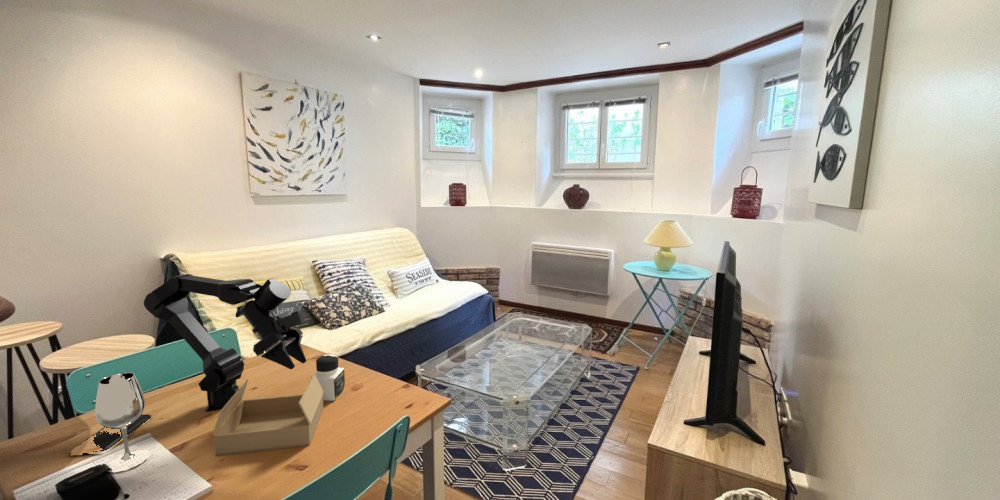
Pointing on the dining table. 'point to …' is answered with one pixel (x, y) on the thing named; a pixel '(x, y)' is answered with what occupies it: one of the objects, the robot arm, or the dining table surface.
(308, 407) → the flap far
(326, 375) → the medicine bottle
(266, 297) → the robot arm
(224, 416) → the flap near
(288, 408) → the carton
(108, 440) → the phone
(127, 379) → the wineglass
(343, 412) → the dining table surface
